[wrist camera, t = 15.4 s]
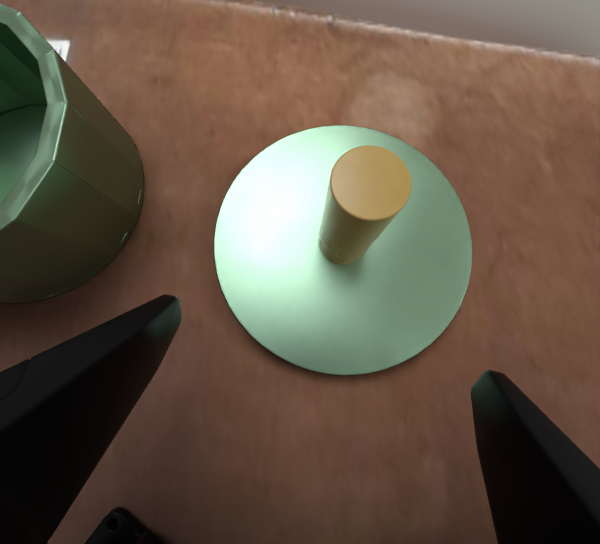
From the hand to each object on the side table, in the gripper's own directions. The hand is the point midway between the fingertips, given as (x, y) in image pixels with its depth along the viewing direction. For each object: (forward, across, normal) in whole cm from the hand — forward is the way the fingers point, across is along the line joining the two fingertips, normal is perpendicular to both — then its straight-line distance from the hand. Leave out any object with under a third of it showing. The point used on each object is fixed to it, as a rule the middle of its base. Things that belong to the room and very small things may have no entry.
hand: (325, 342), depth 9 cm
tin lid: (+8, 0, +1) cm, 9 cm away
